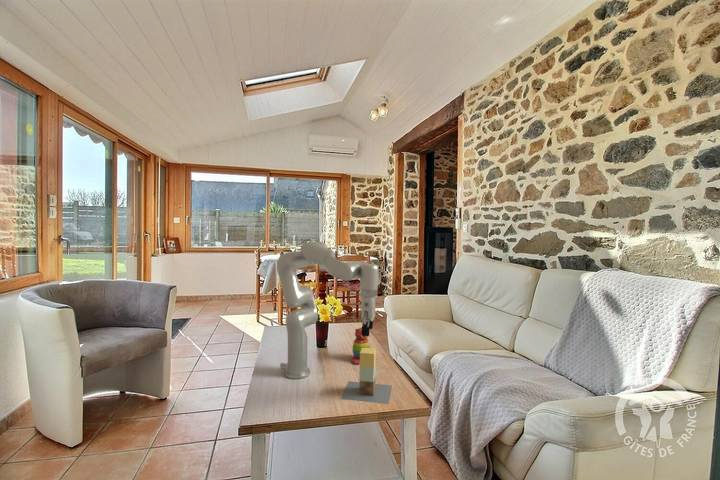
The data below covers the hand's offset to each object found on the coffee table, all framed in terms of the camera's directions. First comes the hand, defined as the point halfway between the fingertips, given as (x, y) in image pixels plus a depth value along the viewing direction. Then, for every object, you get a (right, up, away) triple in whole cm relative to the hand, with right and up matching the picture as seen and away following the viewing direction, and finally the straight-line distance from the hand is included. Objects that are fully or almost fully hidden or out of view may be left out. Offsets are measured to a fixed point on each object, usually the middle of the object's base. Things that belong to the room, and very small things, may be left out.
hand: (367, 332), depth 144 cm
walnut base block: (0, -26, +1) cm, 26 cm away
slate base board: (0, -28, +1) cm, 28 cm away
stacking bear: (-2, -26, +38) cm, 46 cm away
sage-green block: (0, -20, +1) cm, 20 cm away
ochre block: (0, -14, 0) cm, 14 cm away
